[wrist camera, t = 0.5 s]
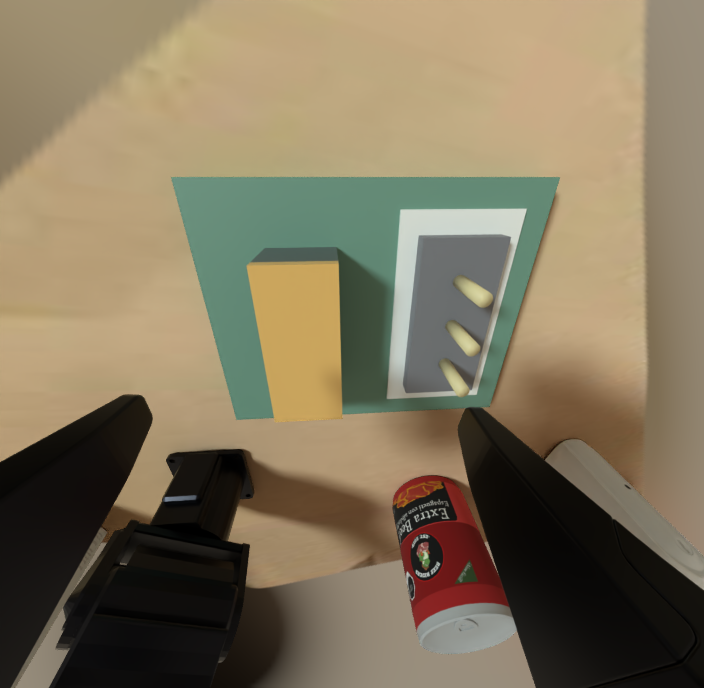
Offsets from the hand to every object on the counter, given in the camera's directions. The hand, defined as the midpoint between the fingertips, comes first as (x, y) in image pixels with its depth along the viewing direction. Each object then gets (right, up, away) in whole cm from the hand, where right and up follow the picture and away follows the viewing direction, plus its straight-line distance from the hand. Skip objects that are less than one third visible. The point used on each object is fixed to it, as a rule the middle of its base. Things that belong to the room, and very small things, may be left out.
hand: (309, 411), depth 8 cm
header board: (+2, +4, +12) cm, 13 cm away
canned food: (+9, -15, +23) cm, 29 cm away
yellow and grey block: (-2, +3, +10) cm, 11 cm away
